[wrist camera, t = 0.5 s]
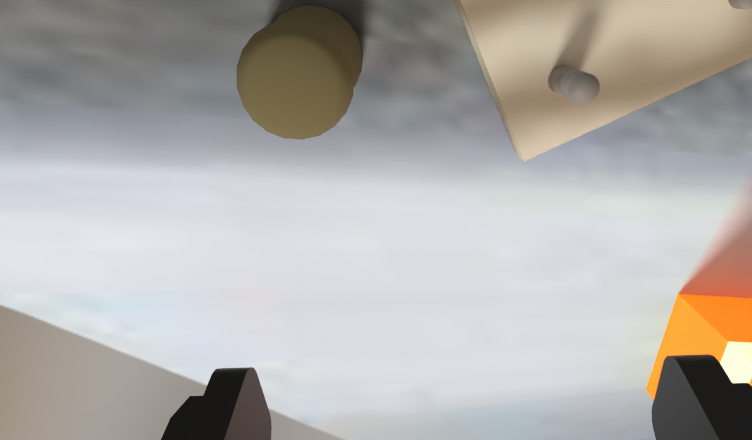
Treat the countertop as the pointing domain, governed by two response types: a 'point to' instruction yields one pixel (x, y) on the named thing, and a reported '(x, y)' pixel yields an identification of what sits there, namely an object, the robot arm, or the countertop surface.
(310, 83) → the cork
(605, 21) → the peg board
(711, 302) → the orange juice
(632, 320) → the countertop surface
